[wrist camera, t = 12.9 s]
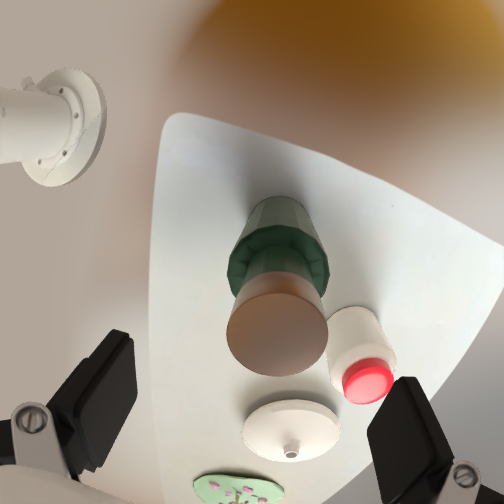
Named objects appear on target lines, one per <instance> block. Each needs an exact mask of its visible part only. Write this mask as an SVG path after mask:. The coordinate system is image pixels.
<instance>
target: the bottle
mask: <svg viewBox="0 0 504 504" xmlns="http://www.w3.org/2000/svg"><path fill="white" fill-rule="evenodd" d="M275 271H282V272H289V273H293V274H296V275H298V276H300V277H302V278H304V279H305V280H307V281H308V282H309V283H311V284H312V285H313V286H314V288H315V289H316V290H317V292H318V294H319V296H320V298H321V297H322V296H323V295H324V293H325V291H326V287H327V284H328V280H329V276H330V272H329V266H328V259H327V255H326V253H325V251H324V248H323V246H322V244H321V242H320V240H319V237H318V235H317V233H316V231H315V229H314V226H313V224H312V222H311V220H310V218H309V216H308V214H307V212H306V211H305V209H304V208H303V206H302V205H301V204H300V203H298V202H297V201H295V200H294V199H291V198H289V197H285V196H274V197H270V198H267V199H265V200H264V201H262V202H261V203H259V204H258V205H257V206H256V208H255V209H254V211H253V212H252V214H251V216H250V217H249V219H248V221H247V223H246V225H245V227H244V229H243V231H242V233H241V235H240V237H239V239H238V241H237V243H236V245H235V247H234V249H233V251H232V253H231V255H230V257H229V264H228V271H227V277H228V281H229V284H230V288H231V291H232V294H233V295H234V296H235V297H237V295H238V293H239V291H240V290H241V289H242V287H243V286H244V285H245V284H246V283H247V282H248V281H250V280H251V279H253V278H254V277H256V276H258V275H261V274H264V273H268V272H275Z"/></svg>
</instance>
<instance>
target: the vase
mask: <svg viewBox="0 0 504 504" xmlns="http://www.w3.org/2000/svg"><path fill="white" fill-rule="evenodd" d="M341 429H342V428H341V424H340V421H339V419H338V418H337V416H336V415H335V414H334V413H333V412H332V411H331V410H330V409H329V408H327V407H325V406H324V405H322V404H319V403H316V402H313V401H307V400H299V399H297V400H282V401H277V402H272V403H269V404H267V405H264V406H262V407H260V408H258V409H257V410H255V411H254V412H253V413H251V415H250V416H249V417H248V418H247V420H246V421H245V423H244V424H243V427H242V431H241V433H242V439H243V441H244V442H245V444H246V445H247V446H248V447H249V448H250V449H251V450H252V451H253V452H254V453H256V454H257V455H259V456H261V457H264V458H266V459H270V460H273V461H280V462H299V461H304V460H309V459H312V458H315V457H318V456H320V455H321V454H323V453H325V452H327V451H328V450H329V449H330V448H331V447H332V446H333V445H334V444H335V443H336V442H337V440H338V439H339V437H340V434H341Z"/></svg>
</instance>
